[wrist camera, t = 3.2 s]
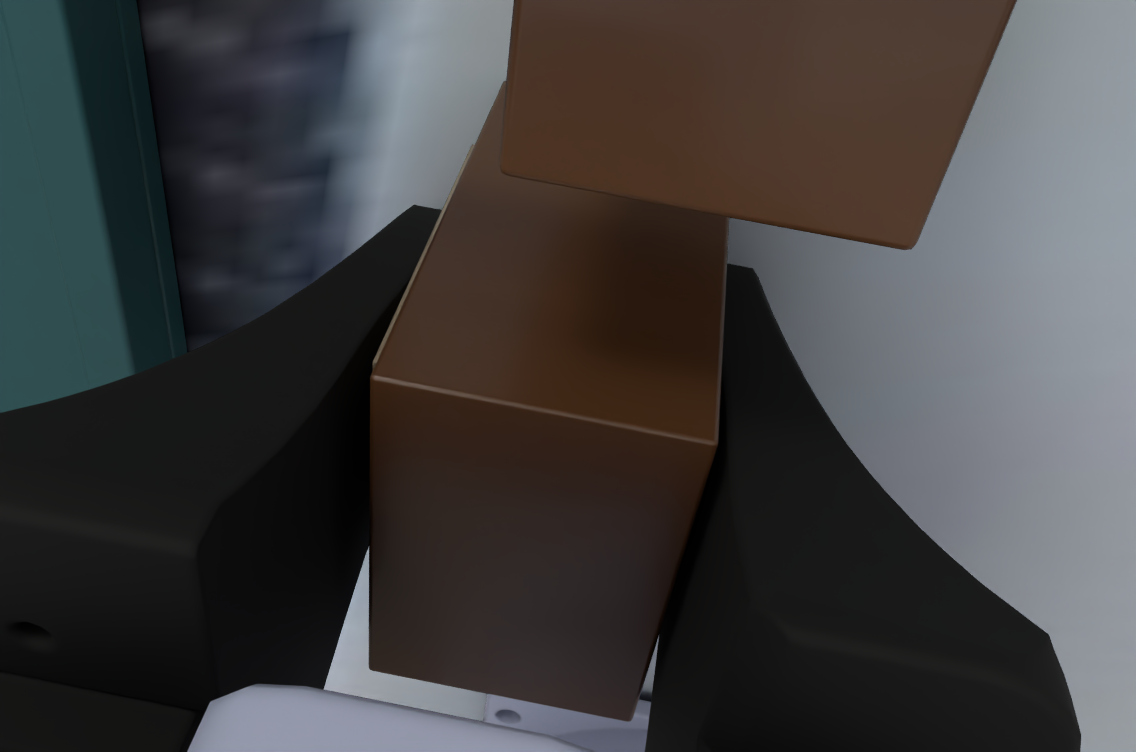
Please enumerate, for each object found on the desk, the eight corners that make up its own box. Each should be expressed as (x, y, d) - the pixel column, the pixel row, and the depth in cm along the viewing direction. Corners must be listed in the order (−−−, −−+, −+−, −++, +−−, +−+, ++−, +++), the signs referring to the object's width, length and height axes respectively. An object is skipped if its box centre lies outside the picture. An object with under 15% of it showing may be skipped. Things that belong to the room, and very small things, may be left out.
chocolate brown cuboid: (668, 379, 16) (632, 724, 12) (466, 340, 16) (350, 667, 12) (734, 121, 13) (720, 443, 9) (488, 75, 13) (345, 372, 9)
